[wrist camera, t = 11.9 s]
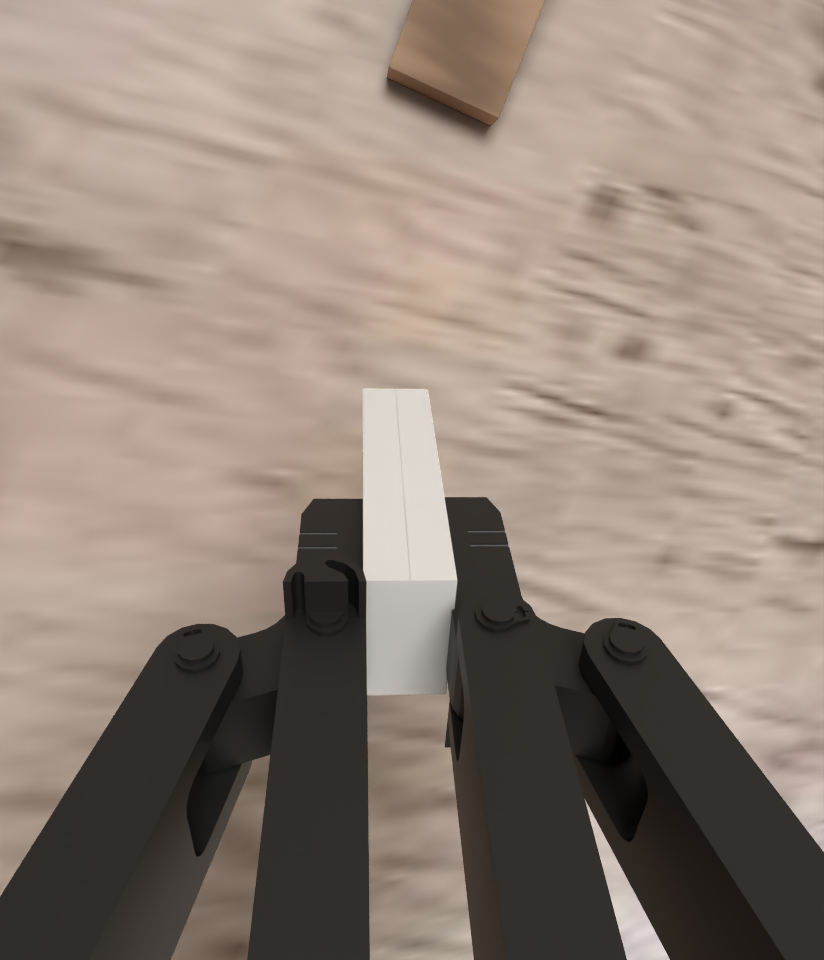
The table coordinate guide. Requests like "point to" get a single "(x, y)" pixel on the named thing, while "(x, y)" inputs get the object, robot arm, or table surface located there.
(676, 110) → the table surface
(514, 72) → the domino
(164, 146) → the table surface
